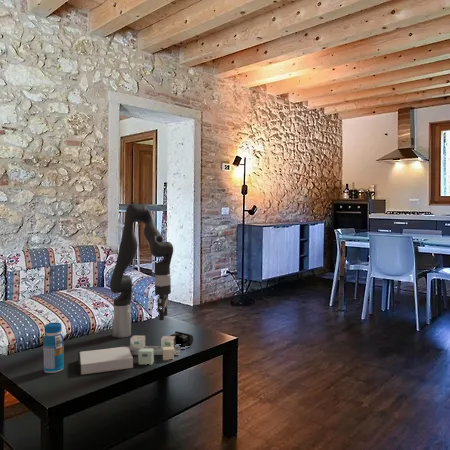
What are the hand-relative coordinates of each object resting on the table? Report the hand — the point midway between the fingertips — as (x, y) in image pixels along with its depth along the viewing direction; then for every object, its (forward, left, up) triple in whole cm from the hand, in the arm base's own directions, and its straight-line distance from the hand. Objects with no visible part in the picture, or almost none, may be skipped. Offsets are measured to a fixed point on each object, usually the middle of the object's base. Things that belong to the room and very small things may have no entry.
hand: (163, 317), depth 199 cm
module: (-6, -10, -18) cm, 22 cm away
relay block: (+3, -4, -18) cm, 19 cm away
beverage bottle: (-44, -21, -18) cm, 52 cm away
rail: (-6, +3, -18) cm, 19 cm away
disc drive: (-24, -13, -19) cm, 33 cm away
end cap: (+6, +14, -19) cm, 24 cm away
